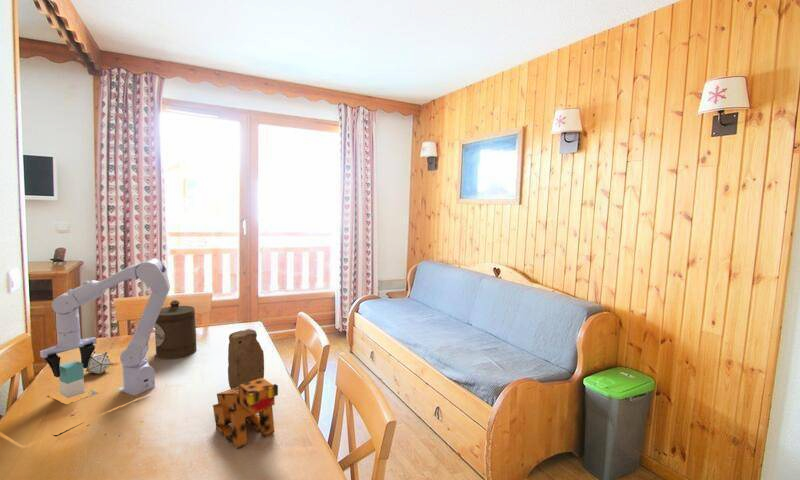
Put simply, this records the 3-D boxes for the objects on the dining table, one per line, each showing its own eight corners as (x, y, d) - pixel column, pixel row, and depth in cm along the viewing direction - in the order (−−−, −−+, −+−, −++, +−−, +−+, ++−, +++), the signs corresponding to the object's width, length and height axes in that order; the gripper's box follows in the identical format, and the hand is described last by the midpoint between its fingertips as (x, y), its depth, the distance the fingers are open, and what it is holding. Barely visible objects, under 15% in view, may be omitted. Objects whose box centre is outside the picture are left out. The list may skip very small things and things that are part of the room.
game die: (96, 386, 146) (79, 372, 139) (88, 372, 151) (72, 357, 144) (121, 369, 151) (107, 354, 144) (113, 355, 155) (98, 341, 148)
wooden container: (158, 348, 173) (156, 298, 171) (197, 344, 179) (195, 295, 177) (153, 361, 160) (151, 306, 158) (195, 356, 166) (194, 303, 164)
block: (234, 397, 133) (233, 337, 131) (226, 388, 139) (225, 331, 137) (266, 387, 140) (265, 331, 138) (257, 379, 146) (257, 325, 144)
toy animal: (248, 412, 124) (247, 362, 122) (282, 440, 110) (282, 384, 108) (212, 426, 116) (211, 372, 114) (245, 457, 102) (244, 397, 101)
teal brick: (83, 378, 132) (82, 363, 131) (67, 383, 128) (66, 368, 127) (76, 375, 134) (75, 360, 133) (59, 380, 130) (58, 365, 129)
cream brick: (84, 393, 132) (83, 378, 132) (67, 399, 128) (67, 384, 128) (76, 389, 134) (76, 375, 134) (60, 395, 130) (59, 380, 130)
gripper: (87, 322, 137) (89, 361, 139) (33, 335, 124) (36, 377, 126) (99, 326, 134) (101, 365, 136) (45, 339, 121) (48, 382, 123)
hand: (71, 371), depth 130 cm, fingers open, 7 cm apart
